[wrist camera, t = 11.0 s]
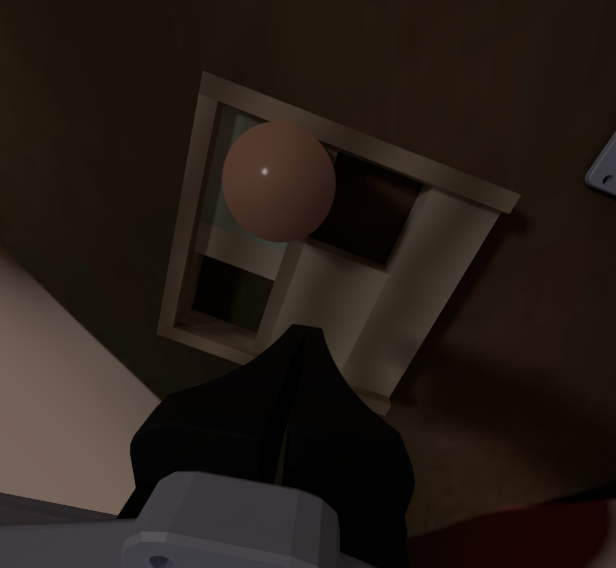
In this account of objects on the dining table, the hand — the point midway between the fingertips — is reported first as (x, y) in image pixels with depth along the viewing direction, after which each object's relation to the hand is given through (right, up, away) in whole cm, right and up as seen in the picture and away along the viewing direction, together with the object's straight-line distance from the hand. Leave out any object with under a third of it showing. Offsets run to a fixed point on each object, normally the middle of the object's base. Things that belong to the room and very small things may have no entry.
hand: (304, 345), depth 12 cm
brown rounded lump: (-1, +8, +4) cm, 9 cm away
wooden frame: (+1, +4, +8) cm, 9 cm away
